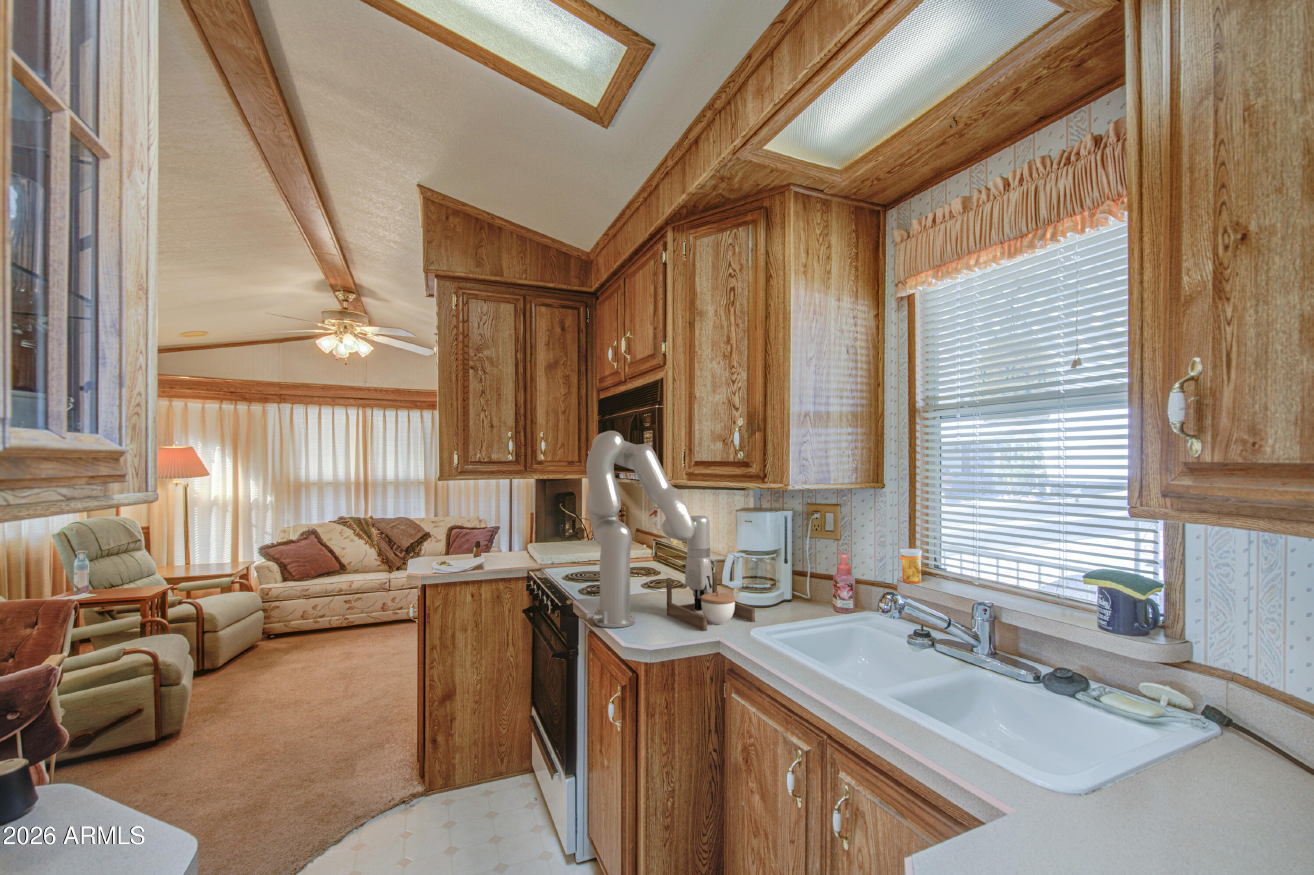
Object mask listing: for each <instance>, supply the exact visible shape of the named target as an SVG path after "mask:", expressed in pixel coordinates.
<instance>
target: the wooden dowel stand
mask: <svg viewBox="0 0 1314 875" xmlns="http://www.w3.org/2000/svg"><path fill="white" fill-rule="evenodd" d="M672 580H673V579H672V578H671V577H666V615H667V616H668V615H669V616H668V617H670V616H671V618H672V617H673V619H675V620H677V619H678V620H677V621H680V622H682V623H684V624H686V625H689V626H691V627H693V628H696V629H698V630H700V631H703V632H706V631H708V620H707V617H706V616H704V614H701V613H698V612H702V610H699V611H698V610H695V603H688V604H681V605H678V604H675V603H673V599H672V598H673V592H672V591H673V589H672V588H673V587H672ZM711 590H712V591H711V593H716V591H718V573H717V572H715V571H714V572H713V571H712V588H711ZM755 611H756V609H755V608H754V607H751V606H748V605H746V604H745V605H744V604H742V603H739V602H736V601H735V610H734V614H733V616H734V615H735V616H734V617H737V618H739V617H740V618H739V619H742V618H743V620H745V619H746V620H745V621H748V622H750V623H754V622H756V612H755Z"/></svg>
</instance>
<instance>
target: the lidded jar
mask: <svg viewBox="0 0 1314 875" xmlns="http://www.w3.org/2000/svg"><path fill="white" fill-rule="evenodd" d="M735 602H736V596H735V595H734V594H730V593H724V592H720V590H717V591H716V593H712V592H710V593H709V594H704V595H702V596H701V606H702V611H701V612H702V615H704V616H706V617H707V622H708V623H710V624H712V625H713V624H714V625H726V624H728V623H729V622H730V620H731V619H732V618H733V616H734V615H733V614H734V610H735Z"/></svg>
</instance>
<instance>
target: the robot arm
mask: <svg viewBox="0 0 1314 875" xmlns="http://www.w3.org/2000/svg"><path fill="white" fill-rule="evenodd" d="M591 446H592V447H591V448H590V450H589V453H588V455H587V459H586V464H585V467H586V468H585V470H586V477H587V482H588V486H589V491H590V492H589V493H588V495H587V498H586V509H587V514H588V518H589V522H590V526H591V529H592V535H593V537H594V540H595V542H596V543H597V544H598V545H599V546H600V554H599V607H597V608H596V610H594V612H586V613H585V614H584V618H585V620H593V621H594V624H595V625H596V626H598V627H602V628H609V629H610V628H613V629H614V628H615V629H616V628H617V629H618V628H623V627H624V628H625V627H629V626H633V625H634V624H635V623H636V617H635V616H634V615H632V614H631V551H632V540H633V539H632V538H633V537H632V532H631V530H630V529H629V527H628V526H627V525H626V524H625V523H624V522H622V521H620V520H619V516H618V515H619V512H620V510H621V507H622V500H621V497H620V496H621V495H620V492H619V488H618V486H617V481H616V476H615V468H614V467H615V464H616V465H618V466H621V467H623V468H627V469H630V470H633V471H634V473H635V475H636V476H637V479H638V480H639V483H640V485H641V486H642V488H643V490H644V493H645V495H646V496H647V498H648V499H649V500H650V501H651V502H652V503H654V504H655V505H656V506H657V507H658V509H659V510H660V511H661V512H662V513H663V515H664V517H665V519H664V520H663V522H662V525H661V529H662V532H663V534H664V535H665V536H666V537H667V538H670V539H673V540H676V541H678V542H686V544H687V545H686V548H687V551H686V552H687V553H686V554H687V556H686V560H685V568H684V570H685V572H684V573H685V574H684V582H685V584H684V585H685V586H686V587H688V588H689V590H691V591H692V594H693V598H694V603H695V610H698V611H697V612H700V611H699V610H702V606H701V596H702V595H704V594H709V593H711V590H712V572H713V570H712V562H711V540H710V539H711V536H710V535H711V534H710V531H711V530H710V526H711V525H710V518H709V517H708V516H706V515H690V512H689V510H688V508H687V506H686V505H685V503H684V501H683V500H682V498H681V497H680V496H679V494H678V493H677V491H676V490H675V488H674V487H673V486H672V484H671V482H670V481H669V479H668V476H667V475H666V473H665V471H664V469H663V467H662V465H661V463H660V460H659V457H658V456H657V453H656V452H655V451H654V449H653V447H652V446H650V445H649V444H645V443H641V444H639V443H638V444H635V443H632V442H629V441H627V440H624V437H623V435H622V434H621V433H620V432H618V431H616V430H607V431H604V432H601V433H599V434H598V435H596V436H595V437H594V438H593V440H592V443H591Z"/></svg>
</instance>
